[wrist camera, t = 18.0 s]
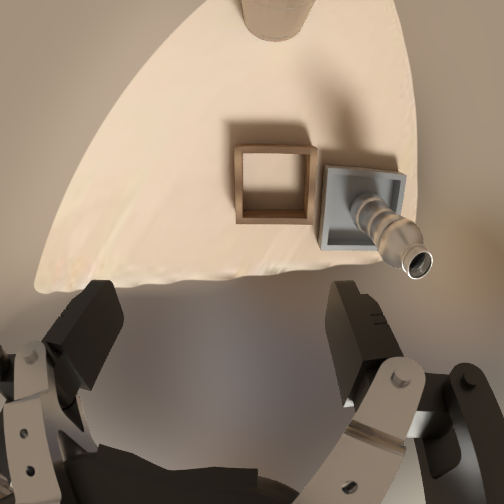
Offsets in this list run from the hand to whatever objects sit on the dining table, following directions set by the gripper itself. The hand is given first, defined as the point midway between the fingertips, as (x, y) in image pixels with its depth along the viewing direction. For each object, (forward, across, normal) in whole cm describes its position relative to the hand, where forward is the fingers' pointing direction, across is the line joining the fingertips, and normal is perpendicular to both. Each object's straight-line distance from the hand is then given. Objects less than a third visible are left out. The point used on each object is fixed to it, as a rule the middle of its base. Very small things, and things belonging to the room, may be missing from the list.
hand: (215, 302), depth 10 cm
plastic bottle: (+36, -20, +9) cm, 42 cm away
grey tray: (+36, -19, +9) cm, 42 cm away
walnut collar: (+36, -4, +4) cm, 37 cm away
